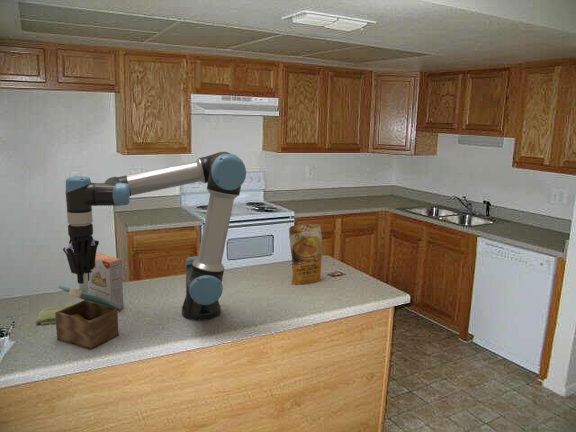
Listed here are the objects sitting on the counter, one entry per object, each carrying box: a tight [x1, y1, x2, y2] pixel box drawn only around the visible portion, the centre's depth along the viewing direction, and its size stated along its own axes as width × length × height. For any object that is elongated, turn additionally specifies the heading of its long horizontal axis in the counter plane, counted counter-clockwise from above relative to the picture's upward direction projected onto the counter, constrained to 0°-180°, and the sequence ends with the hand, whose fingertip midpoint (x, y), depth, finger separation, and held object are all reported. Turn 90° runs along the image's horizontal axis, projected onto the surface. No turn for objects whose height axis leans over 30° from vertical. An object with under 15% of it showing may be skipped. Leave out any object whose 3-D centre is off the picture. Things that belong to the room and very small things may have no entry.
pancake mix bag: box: [288, 222, 323, 286], centre depth 222 cm, size 7×19×28 cm, turn 118°
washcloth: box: [35, 303, 75, 326], centre depth 179 cm, size 13×18×3 cm
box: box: [55, 300, 122, 351], centre depth 162 cm, size 17×13×10 cm
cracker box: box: [88, 252, 124, 310], centre depth 187 cm, size 14×6×21 cm, turn 58°
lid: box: [57, 285, 119, 308], centre depth 160 cm, size 17×13×2 cm
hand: (84, 291), depth 159 cm, fingers closed
